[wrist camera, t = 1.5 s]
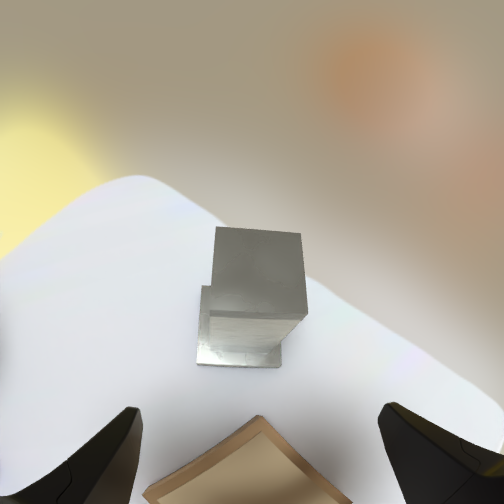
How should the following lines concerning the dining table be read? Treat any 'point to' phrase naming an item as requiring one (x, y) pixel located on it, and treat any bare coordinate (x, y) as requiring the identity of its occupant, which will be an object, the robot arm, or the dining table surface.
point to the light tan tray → (247, 474)
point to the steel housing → (251, 298)
